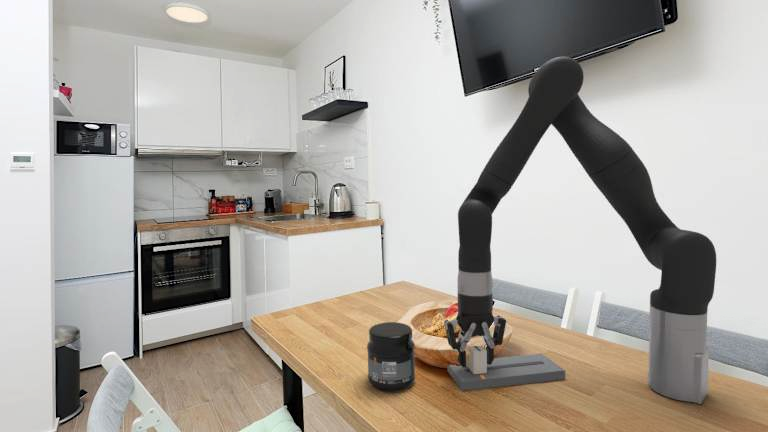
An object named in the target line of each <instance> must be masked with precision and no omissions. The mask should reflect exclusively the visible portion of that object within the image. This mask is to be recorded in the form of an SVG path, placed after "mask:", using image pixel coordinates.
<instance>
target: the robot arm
mask: <svg viewBox="0 0 768 432" xmlns="http://www.w3.org/2000/svg"><path fill="white" fill-rule="evenodd" d="M584 76H585V75H584V70H583V67H582V65H581V64H580V63H579V62H578V61H577V60H576V59H574V58H572V57H570V56H566V55H565V56H564V55H563V56H558V57H554V58H551V59H549V60H547V61H545V62H544V63H543V64H542V65H541V66H540V67H539V68H538V70H537V71H536V72H535V73H534V75H533V76H532V77H531V79H530V81H529V83H528V90H527V91H528V98H527V100H526V103H525V104H524V107H523V108H522V109H521V112H520V113H519V115H518V117H517V119H516V120H515V121H514V123H513V125H512V126H511V127H510V129H509V130H508V132H506V135H505V136H504V137H503V139H502V140H501V141H500V143H499V144H498V146H497V147H496V149H495V150H494V152H493V153H492V155H491V157H490V158H489V159H488V161H487V162H486V165H484V168H483V169H482V171H481V173H480V175H479V177H478V179H477V181H476V183H475V185H474V186H473V188H471V189H470V192H469V193H468V195H467V196H466V197H465V199H463V202H462V204H461V205H460V206H459V208H458V212H457V221H458V223H457V225H458V240H459V241H458V242H459V248H458V253H457V254H458V255H457V257H458V263H457V265H458V272H457V273H458V274H457V316H456V317H455V319H452V320H449V319H445V320H444V322H443V324H444V329H445V334H446V338H447V343H448V345H449V346H450V348H451V349H452V350H456V351H457V350H458V352H459V355H458V358H456V362H458V363H459V364H460V365H461V366H462V367H466V351H465V348H466V346H467V343H468V342H471V338H474V337H481V338H482V339H483V342H484V343H486V344H485V345H487V347H486V350H487V364H488V365H491V364H492V362H493V360H494V358H495V347H496V346H501V345H503V340H504V335H505V330H506V324H507V320H506V319H505V318H504V317H502V316H501V315H497V316H495V315H494V314H493V308H494V307H493V305H494V303H493V295H494V294H493V289H494V284H493V285H492V281H493V276H492V252H491V251H492V250H491V242H492V233H493V232H492V231H493V213H494V212H495V210H496V209H497V207H498V205H499V204H500V202H501V200H502V199H503V198H504V197H505V196H507V194H508V193H509V192H510V191H511V188H512V187H513V186H514V184H515V182H516V180H517V179H518V178H519V176H520V174H521V173H522V171H523V170H524V168H525V166H526V165H527V163H528V161H529V160H530V157H531V156H532V155H533V152H534V151H535V149H536V148H537V146H538V144H539V143H540V141H541V139H542V138H543V137H544V135H545V133H546V132H547V131H548V129H549V128H550V126H553V128H555V130H556V131H557V132H558V134H560V136H561V137H562V139H563V140H564V142H565V143H566V145H567V147H568V148H569V149H570V151H571V152H572V154H573V155H574V156H575V158H576V160H577V161H578V162H579V164H580V165H581V167H582V168H583V170H584V171H585V173H586V175H588V177H589V179H590V180H591V181H592V182H593V184H594V185H595V187H596V188H597V189H598V190H599V191H600V192H601V194H602V195H603V196H604V198H605V199H606V200H607V202H608V203H609V204H610V206H612V208H613V209H614V210H615V212H616V213H617V214H618V215H619V216H620V218H621V219H622V220H623V222H624V223H625V224H626V226H627V228H628V229H629V231H630V232H631V234H632V235H633V238H634V239H635V241H636V243H637V244H638V247H639V248H640V250H641V252H642V253H643V255H644V257H645V258H646V261H648V263H650V265H652V266H653V267H654V268H656V269H658V270H660V271H661V276H660V285H659V287H658V288H657V289H654V290H652V291H651V292H650V293H649V324H648V325H649V329H648V330H649V333H648V334H649V336H648V337H649V338H648V373H647V376H648V377H647V378H648V379H647V380H648V381H647V382H648V383H647V384H648V387H650V388H651V390H653V392H656V393H658V394H659V395H660V396H661V395H662V396H664V397H666V398H669V399H673V400H677V401H682V402H687V403H689V402H690V403H695V404H699V405H701V404H702V403H703V402H704V400H705V398H706V397H707V395H708V392H709V391H708V390H709V361H710V357H709V356H710V348H709V347H708V346H707V341H708V340H707V337H708V336H707V335H708V334H707V333H708V332H707V330H708V311H709V310H708V307H709V304H710V303H711V301H712V299H713V296H714V293H715V284H716V283H715V281H716V274H717V252H716V248H715V244H713V242H712V240H710V238H709V237H708V236H706V235H704V234H702V233H701V232H697V231H693V230H688V229H681V228H679V227H678V226H677V225H676V224H675V223H674V222H673V221H672V220H671V218H669V216H668V215H667V214H666V212H664V209H662V208H661V206H660V205H659V203H658V201H657V199H656V196H655V192H654V187H653V184H652V179H651V177H650V173H649V171H648V169H647V167H646V165H645V164H644V162H643V161H642V160H641V159H640V157H639V155H637V153H636V152H635V151H634V149H633V147H632V146H631V145H630V143H628V141H626V139H624V138H623V137H622V136H621V135H620V134H618V133H617V132H615V131H614V130H613V129H612V128H610V127H609V126H607V125H606V124H604V122H602V121H600V120H599V119H598V118H597V117H596V116H595V115H593V113H591V112H590V110H589V108H588V107H587V106H586V104H585V103H584V101H583V100H582V98H581V97H580V95H579V93H580V90H581V88H582V86H583V84H584V78H585V77H584ZM493 322H494V329H493V331H492V332H493V333H492V332H491V333H490V331H489V328H490V326H491V325H492V323H493ZM457 326H459V328H460V330H459V333H458V337H457V338H456V333H455V331H456V330H457Z"/></svg>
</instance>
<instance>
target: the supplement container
mask: <svg viewBox="0 0 768 432" xmlns="http://www.w3.org/2000/svg"><path fill="white" fill-rule="evenodd" d="M368 339H369V340H368V342H367V344H366V345H367V346H366V350H367V370H368V375H367V378H368V379H367V380H368V383H369V384H370V385H371V387H372V388H374V389H376V390H377V391H381V392H384V393H399V392H402V391H405V390H407V389H409V388H410V387H412V385H413V384H414V383H415V381H416V380H415V379H416V372H415V368H416V367H415V365H416V364H415V349H416V345H415V342H414V340H413V328H412V327H411V326H410V325H408V324H406V323H403V322H396V321H389V322H381V323H377V324H374V325H372V326H371V327H370V328H369V330H368Z"/></svg>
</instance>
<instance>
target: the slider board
mask: <svg viewBox="0 0 768 432" xmlns="http://www.w3.org/2000/svg"><path fill="white" fill-rule="evenodd" d="M447 373H448V374H449V375H450V377H451V378H452V379H453V381H454V382H455V384H456V385H457V386H458V388H459V389H460V391H461V392H467V391H475V390H483V389H493V388H499V387H500V388H501V387H509V386H519V385H526V384H535V383H544V382H551V381H552V382H555V381H560V380H561V381H562V380H566V370H565V369H564V368H563V367H561V365H559V364H557V363H556V362H554V361H553V360H551V359H550V358H549V357H548V356H546V355H544V354H543V353H541V352H540V353H532V354H523V355H514V356H502V357H494V360H493V362H492V364H491V365H488V364H487V373H481V374H473V373H472V372H471V370H470V369H469V368H468V367H467V366H466V367H462V366H456V365H449V366H448V365H447Z"/></svg>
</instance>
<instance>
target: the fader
mask: <svg viewBox="0 0 768 432" xmlns="http://www.w3.org/2000/svg"><path fill="white" fill-rule="evenodd" d="M469 352H470V355H469V360H468V362H467V364H466V366H467V367H468V368H469V369H470V370H471V372H472V373H473V374H481V373H487V350H486V349H485V347H484V346H482V345H481V346H473V347H469Z"/></svg>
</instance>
